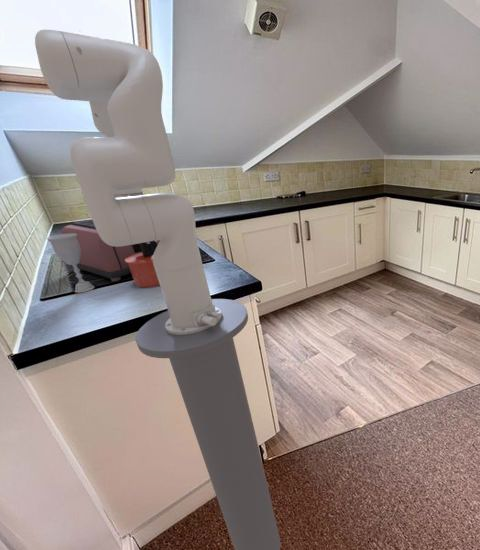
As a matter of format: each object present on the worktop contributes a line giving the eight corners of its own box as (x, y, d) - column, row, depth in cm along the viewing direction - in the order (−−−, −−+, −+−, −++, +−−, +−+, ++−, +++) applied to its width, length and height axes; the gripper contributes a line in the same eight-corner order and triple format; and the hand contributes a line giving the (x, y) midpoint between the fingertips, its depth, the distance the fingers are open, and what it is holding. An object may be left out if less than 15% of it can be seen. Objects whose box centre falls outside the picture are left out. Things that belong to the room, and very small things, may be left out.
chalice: (103, 286, 100) (82, 234, 93) (81, 294, 94) (57, 239, 87) (88, 284, 102) (66, 232, 95) (65, 292, 96) (40, 238, 89)
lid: (178, 255, 103) (173, 237, 101) (140, 267, 93) (133, 247, 90) (156, 251, 108) (150, 234, 106) (117, 262, 98) (110, 243, 95)
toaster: (206, 252, 132) (196, 212, 125) (112, 283, 102) (93, 232, 95) (165, 245, 145) (154, 208, 138) (71, 270, 115) (51, 224, 109)
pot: (182, 276, 106) (175, 254, 103) (148, 289, 97) (140, 265, 93) (162, 272, 111) (155, 250, 108) (128, 284, 101) (119, 260, 98)
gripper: (158, 198, 93) (174, 252, 99) (126, 196, 100) (143, 247, 106) (132, 202, 86) (151, 259, 93) (100, 199, 93) (119, 253, 100)
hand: (146, 252), depth 100 cm, fingers open, 7 cm apart
